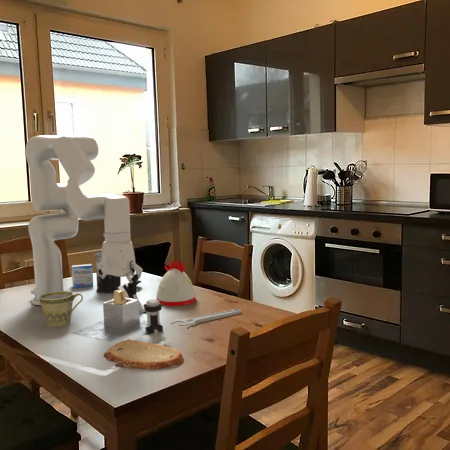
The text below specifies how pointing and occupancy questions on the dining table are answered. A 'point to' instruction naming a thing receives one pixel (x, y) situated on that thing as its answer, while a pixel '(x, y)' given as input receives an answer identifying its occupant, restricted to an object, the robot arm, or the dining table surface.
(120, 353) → the bread slice
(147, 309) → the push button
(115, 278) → the milk frother
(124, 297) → the brass pin
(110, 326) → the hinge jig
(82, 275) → the medicine box
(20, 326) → the dining table surface
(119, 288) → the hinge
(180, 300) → the kitchen timer
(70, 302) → the ceramic cup
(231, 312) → the adjustable wrench
